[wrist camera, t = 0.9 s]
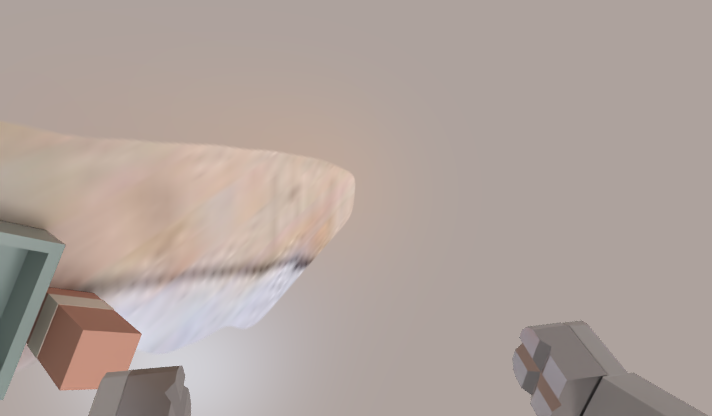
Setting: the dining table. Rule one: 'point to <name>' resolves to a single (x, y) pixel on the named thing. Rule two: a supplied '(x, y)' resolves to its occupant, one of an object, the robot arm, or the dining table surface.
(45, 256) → the tray
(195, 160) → the dining table surface
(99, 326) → the salmon pink two-tone box
